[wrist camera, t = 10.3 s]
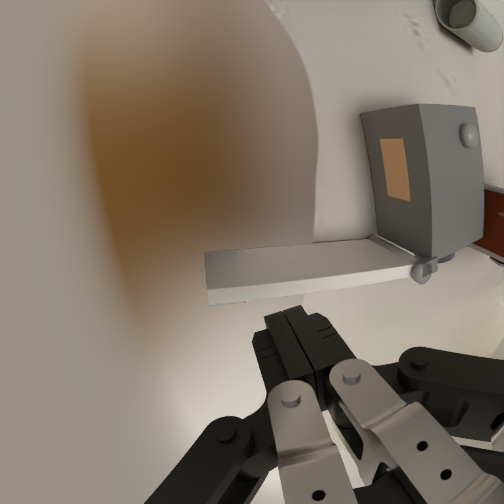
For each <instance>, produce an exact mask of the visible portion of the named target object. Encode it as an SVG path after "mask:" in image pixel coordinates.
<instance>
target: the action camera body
mask: <svg viewBox="0 0 504 504" xmlns="http://www.w3.org/2000/svg"><path fill="white" fill-rule="evenodd" d="M360 115H361V120H362V125H363V129H364V134H365V140H366V145H367V150H368V156H369V162H370V168H371V175H372V182H373V190H374V198H375V207H376V217H377V228H378V235H379V236H381V237H383V238H385V239H387V240H389V241H391V242H393V243H395V244H397V245H399V246H401V247H403V248H405V249H407V250H409V251H410V252H412V253H414V255H415V256H416V257H417V258H419V259H421V260H420V261H418V262H417V263H416V265H415V266H414V268H413V271H412V278H413V280H414V281H416V282H417V283H419V284H424V283H426V282H427V281H428V280H429V278H430V277H431V274H432V273H434V272H436V271H437V263H443V262H447V261H449V260H451V259H452V258H453V257H454V255H455V251H457V250H459V249H461V248H463V247H465V246H467V245H469V244H471V243H473V242H475V241H477V240H479V239H481V238H482V237H483V225H484V177H483V161H482V150H481V141H480V134H479V127H478V120H477V115H476V109H475V107H467V106H456V105H440V104H413V105H406V106H400V107H394V108H388V109H382V110H377V111H372V112H367V113H362V114H360Z"/></svg>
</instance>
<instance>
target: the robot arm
mask: <svg viewBox="0 0 504 504" xmlns="http://www.w3.org/2000/svg"><path fill="white" fill-rule="evenodd" d="M264 320H265V324H266V327H267V329H265V330H262V331H258V332H255V333H254V337H253V340H252V344H253V347H254V351H255V354H256V357H257V361H258V364H259V368H260V371H261V374H262V378H263V381H264V384H265V388H266V392H267V394H266V399H265V402H264V403H263V405H262V406H261V407H260V408H259V409H258V410H257V411H256V412H254V413H253V414H251V415H249V416H247V417H246V418H244V419H241V418H238V417H235V416H225V417H221V418H218V419H216V420H214V421H212V422H211V423H210V424H209V425H208V426H207V427H206V428H205V430H204V431H203V432H202V434H201V435H200V436H199V437H198V439H197V440H196V441H195V443H194V444H193V445H192V447H191V448H190V449H189V450H188V452H187V453H186V454H185V455H184V457H183V458H182V459H181V460H180V462H179V463H178V464H177V465H176V467H175V468H174V469H173V470H172V471H171V473H170V474H169V475H168V476H167V477H166V479H165V480H164V481H163V482H162V483H161V485H160V486H159V487H158V488H157V489H156V490H155V491H154V493H153V494H152V495H151V496H150V497H149V498H148V499H147V501H146V502H145V503H144V504H250V502H251V501H252V499H253V498H254V496H255V495H256V493H257V492H258V490H259V488H260V487H261V485H262V483H263V482H264V480H265V478H266V477H267V475H268V473H269V471H271V470H272V469H274V468H276V467H277V466H278V470H279V475H280V480H281V485H282V490H283V495H284V500H285V504H504V360H498V359H492V358H485V357H478V356H472V355H466V354H460V353H454V352H448V351H442V350H437V349H432V348H426V347H413V348H410V349H408V350H406V351H405V352H403V353H402V355H401V356H400V358H399V362H396V363H391V364H386V365H380V366H373V365H370V364H369V363H368V362H366V361H364V360H361V359H357V358H356V357H355V355H354V354H353V353H352V351H351V350H350V348H349V347H348V346H347V344H346V343H345V342H344V340H343V339H342V338H341V336H340V335H339V334H338V333H337V331H336V330H335V328H334V327H333V325H332V324H331V323H330V321H329V320H328V319H327V318H326V317H324V316H322V315H321V314H319V313H314V314H311V315H307V314H306V312H305V311H304V309H303V307H302V306H301V305H299V306H295V307H292V308H289V309H286V310H283V312H282V311H280V312H277V313H274V314H270V315H268V316H264ZM325 410H328V411H329V413H330V415H331V417H332V425H333V427H334V429H335V431H336V432H337V434H338V436H339V437H340V439H341V440H342V442H343V444H344V445H345V447H346V449H347V450H348V452H349V453H350V455H351V456H352V458H353V459H354V461H355V463H356V465H357V467H358V471H359V474H360V477H361V479H362V481H363V483H364V484H365V485H366V486H364V487H360V488H355V489H353V488H352V486H351V483H350V480H349V477H348V474H347V472H346V469H345V466H344V463H343V461H342V458H341V455H340V453H339V450H338V448H337V446H336V444H335V443H333V442H332V439H331V437H330V434H329V431H328V429H327V426H326V423H325V420H324V417H323V415H322V411H325ZM451 436H455V437H460V438H466V439H473V440H480V441H487V442H491V443H492V446H491V450H487V449H481V448H475V447H470V446H463V445H459V444H458V443H457V442H456V441H455V440H454V439H453V438H452V437H451Z"/></svg>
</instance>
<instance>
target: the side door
mask: <svg viewBox="0 0 504 504" xmlns="http://www.w3.org/2000/svg"><path fill="white" fill-rule="evenodd" d="M420 260H421V259H419V258H417V257H415V256H413V255H411V254H409V253H408V252H406V251H404V250H402V249H400V248H398V247H396V246H394V245H392V244H390V243H388V242H387V241H385V240H383V239H381V238H379V237H377V236H374V235H372V236H370V237H369V238H368V239H362V240H349V241H337V242H324V243H311V244H299V245H286V246H275V247H262V248H251V249H238V250H226V251H213V252H205V269H206V283H207V295H208V304H209V306H215V305H225V304H235V303H245V302H246V301H248V300H256V299H266V298H274V297H282V296H290V295H298V294H306V293H313V292H320V291H327V290H334V289H341V288H347V287H353V286H360V285H366V284H372V283H378V282H384V281H389V280H395V279H400V278H406V277H412V271H413V268H414V266H415V265H416V263H417V262H418V261H420Z"/></svg>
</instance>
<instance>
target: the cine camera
mask: <svg viewBox="0 0 504 504" xmlns="http://www.w3.org/2000/svg"><path fill="white" fill-rule="evenodd" d="M467 246H469V247H472V248H474V249H476V250H478V251H480V252H482V253H484V254H487V255H489V256H490V259H491V260H492V261H493V262H495V263H496V264H498V265H499V266H502V267H504V189H502V188H498V187H494V186H490V185H486V184H484V225H483V237H482V238H481V239H479V240H477V241H475V242H473V243H471V244H469V245H467Z"/></svg>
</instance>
